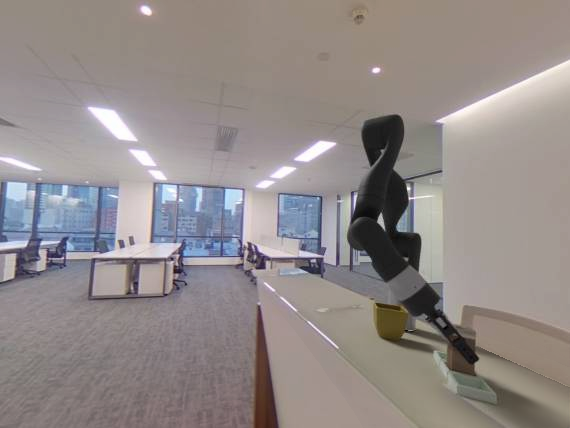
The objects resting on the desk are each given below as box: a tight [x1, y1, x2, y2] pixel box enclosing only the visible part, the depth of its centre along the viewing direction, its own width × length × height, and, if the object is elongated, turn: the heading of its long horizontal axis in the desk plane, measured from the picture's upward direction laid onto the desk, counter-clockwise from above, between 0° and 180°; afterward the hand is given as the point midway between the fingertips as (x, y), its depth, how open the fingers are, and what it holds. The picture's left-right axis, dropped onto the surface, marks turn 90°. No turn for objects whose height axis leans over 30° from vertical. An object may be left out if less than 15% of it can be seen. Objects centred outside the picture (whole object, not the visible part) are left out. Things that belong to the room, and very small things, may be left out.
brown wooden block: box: [446, 323, 477, 376], centre depth 57 cm, size 4×4×10 cm
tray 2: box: [439, 360, 483, 380], centre depth 56 cm, size 6×6×2 cm
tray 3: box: [447, 372, 498, 405], centre depth 50 cm, size 6×6×2 cm
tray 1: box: [433, 350, 447, 367], centre depth 62 cm, size 6×6×2 cm
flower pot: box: [372, 301, 409, 341], centre depth 79 cm, size 9×9×9 cm
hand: (467, 354), depth 56 cm, fingers open, 8 cm apart
